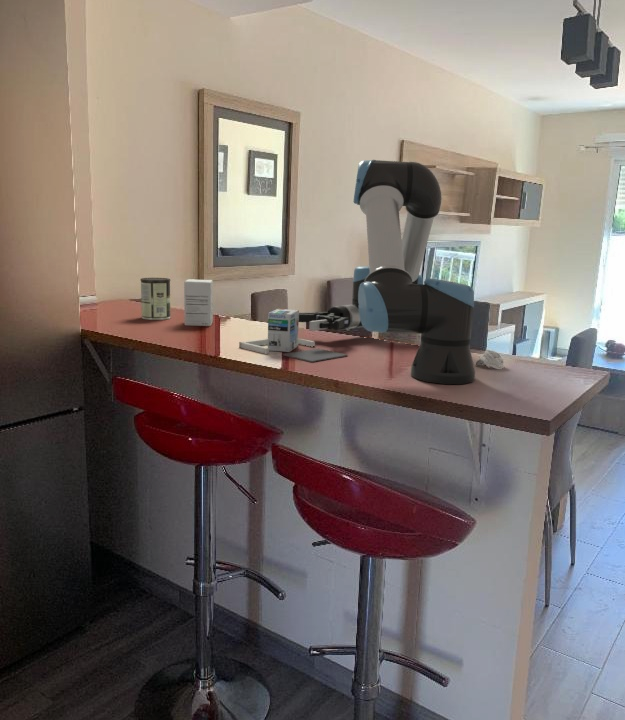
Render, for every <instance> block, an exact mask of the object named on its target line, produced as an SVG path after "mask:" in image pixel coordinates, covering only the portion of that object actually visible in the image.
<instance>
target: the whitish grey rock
mask: <svg viewBox="0 0 625 720" xmlns="http://www.w3.org/2000/svg"><path fill="white" fill-rule="evenodd" d="M504 363H505V361H504V358H503V355H502V354H500V353H499V352H497V351H495V350H490V349H486V350H485V351H484V352H483V354H482V356H481V355H480V356H479V358H478V359H477V361H476V362H475V366H484V365H486V367H487V368H493V369H495V370H503V369H504V367H505V366H504ZM502 368H503V369H502Z"/></svg>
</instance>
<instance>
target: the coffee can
mask: <svg viewBox="0 0 625 720" xmlns="http://www.w3.org/2000/svg"><path fill="white" fill-rule="evenodd" d="M140 293H141V294H140V297H141V298H140V299H141V300H140V301H141V305H140V306H141V319H143V320H148V321H149V320H150V321H162V320H163V321H164V320H170V319H171V279H170V278H168V277H166V278H165V277H142V278H140Z"/></svg>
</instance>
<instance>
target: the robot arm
mask: <svg viewBox="0 0 625 720" xmlns="http://www.w3.org/2000/svg"><path fill="white" fill-rule="evenodd" d="M442 200H443V199H442V191H441V186H440V183H439V182H438V179H437V177H436V175H435V174H434V173H433V172H432V170H431V169H429V167H427V166H426V165H425V164H422V163H420V162H418V161H417V162H416V161H395V160H376V159H371V160H366V159H365V160H362V161H360V162H359V163H358V166H357V174H356V180H355V187H354V194H353V203H354V205H355V204H356V205H357V206H359V208H360V210H361V212H362V213H363V214H364V215H365V218H366V233H367V234H366V235H367V250H368V265H367V266H366V265H364V266H363V265H361V266H359V265H358V266H356V267H355V268H354V269H353V278H352V279H353V280H352V299H351V301H352V302H351V304H343V305H334V306H332V307H330V308H329V309H328V311H322V312H318V311H315V312H314V311H313V312H299V323H309V327H308V329H309V330H308V331H309V332H316V331H323V330H333V331H342V330H343V331H344V330H346V331H350V329H358V328H359V329H360V328H364V330H366V331H368V332H371V333H372V332H374V333H380V334H385V333H393V334H394V333H398V334H399V333H400V334H420V344H419V347H418V349H417V352H416V354H415V357H414V359H413V361H412V364H411V368H410V376H411V377H413V379H417V380H420V381H422V382H427V383H432V384H433V383H434V384H442V385H464V384H469V383H472V382H474V381H475V377H476V375H475V374H476V370H475V365H474V361H473V360H474V359H473V357H472V352H471V347H470V346H471V336H472V326H473V316H474V308H475V291H474V289H473V288H472V287H471V286H470V285H468V284H463V283H459V282H454V281H448V280H445V279H444V280H443V279H437V278H430V277H429V278H427V277H426V279H425V280H424V278H423V276H422V275H421V274H420V272H421V268H422V264H423V261H424V256H425V253H426V248H427V246H428V245H427V244H428V241H429V236H430V233H431V229H432V226H433V223H434V218H436V217H437V216H438V215H439V213H440V210H441V209H440V208H441V207H442ZM403 207H405V211H406V212H407V214H406V217H405V223H404V228H403V233H402V231H401V221H400V220H401V219H400V211H401V209H402V208H403Z"/></svg>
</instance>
